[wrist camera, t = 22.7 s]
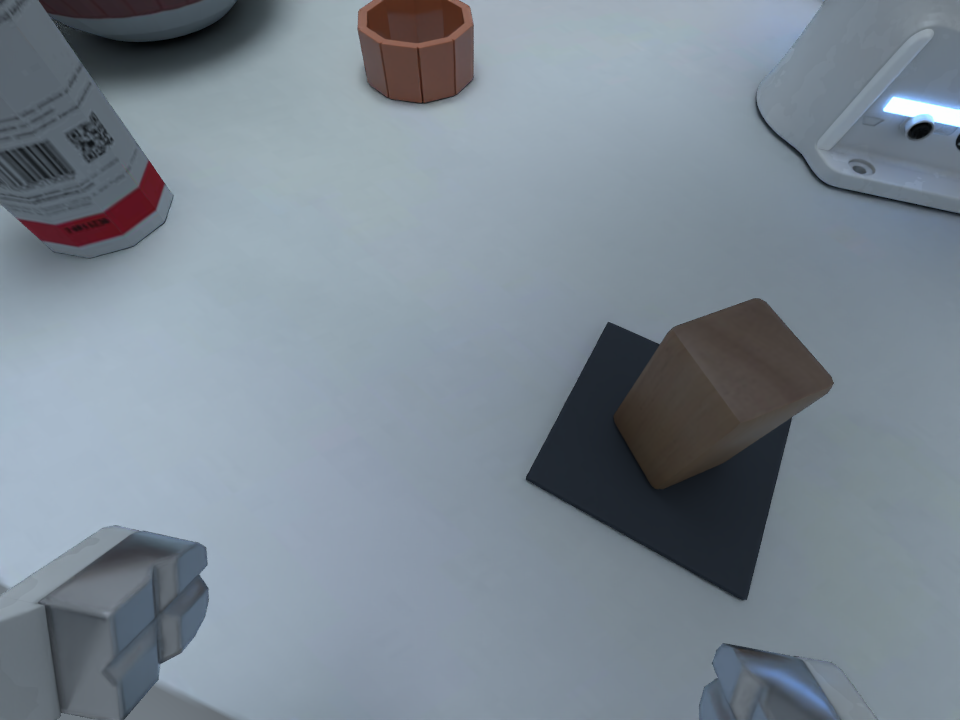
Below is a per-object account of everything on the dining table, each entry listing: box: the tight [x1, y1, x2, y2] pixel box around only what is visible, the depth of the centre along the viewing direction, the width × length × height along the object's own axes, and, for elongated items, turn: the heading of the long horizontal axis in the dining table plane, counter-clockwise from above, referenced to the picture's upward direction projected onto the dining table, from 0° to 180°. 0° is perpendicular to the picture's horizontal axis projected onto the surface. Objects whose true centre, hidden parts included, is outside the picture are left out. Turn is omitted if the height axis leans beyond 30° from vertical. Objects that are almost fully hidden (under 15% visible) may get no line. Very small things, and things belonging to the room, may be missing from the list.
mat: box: [526, 322, 792, 600], centre depth 22 cm, size 10×10×1 cm
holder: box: [358, 0, 474, 103], centre depth 37 cm, size 9×9×4 cm
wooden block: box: [614, 298, 834, 489], centre depth 19 cm, size 4×4×8 cm
